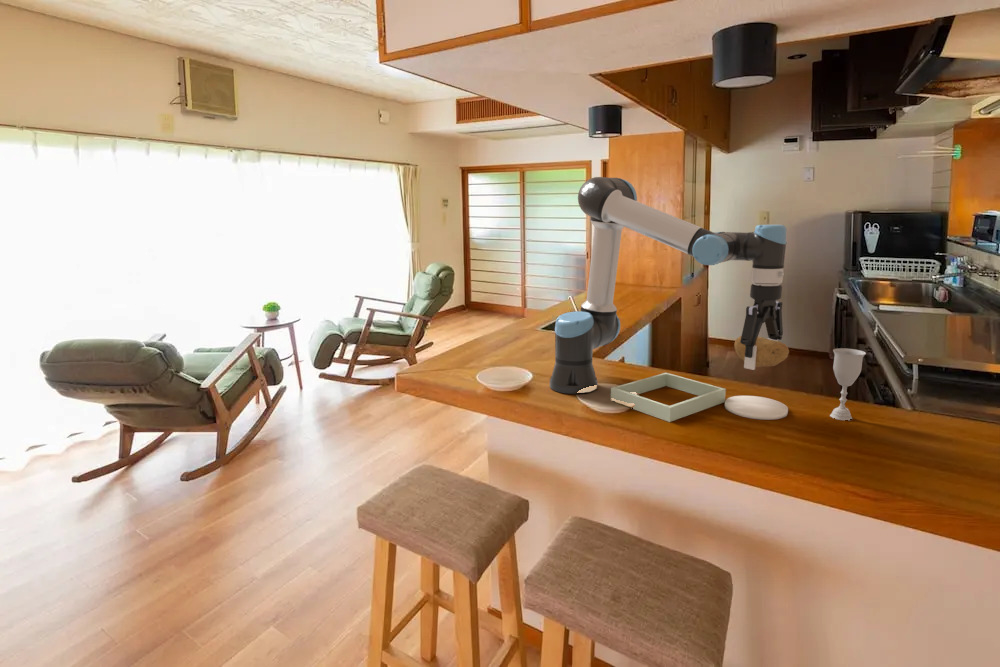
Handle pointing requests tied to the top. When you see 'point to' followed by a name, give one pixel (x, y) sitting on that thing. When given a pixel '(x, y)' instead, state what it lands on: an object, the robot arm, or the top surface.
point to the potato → (764, 351)
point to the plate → (756, 407)
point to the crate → (705, 392)
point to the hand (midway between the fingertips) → (759, 365)
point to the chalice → (846, 376)
